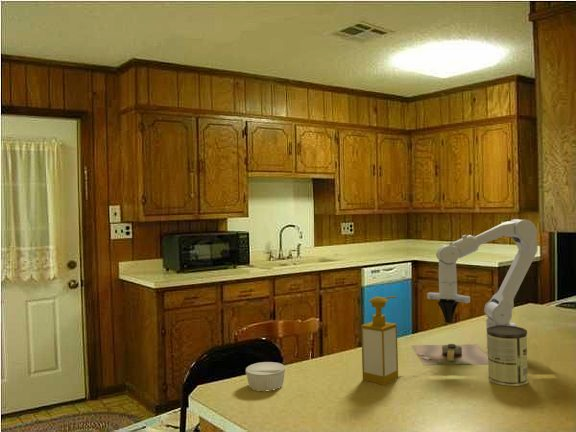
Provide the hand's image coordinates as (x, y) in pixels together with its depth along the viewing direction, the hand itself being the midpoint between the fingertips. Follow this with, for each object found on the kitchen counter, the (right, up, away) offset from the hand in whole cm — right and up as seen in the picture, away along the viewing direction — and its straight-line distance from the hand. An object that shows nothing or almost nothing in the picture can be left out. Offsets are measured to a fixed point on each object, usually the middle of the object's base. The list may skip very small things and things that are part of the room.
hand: (448, 322), depth 179 cm
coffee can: (+7, -10, -30) cm, 33 cm away
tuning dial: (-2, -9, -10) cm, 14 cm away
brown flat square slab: (-1, -10, -8) cm, 12 cm away
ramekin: (-60, -13, -29) cm, 67 cm away
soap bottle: (-25, -11, -24) cm, 37 cm away
